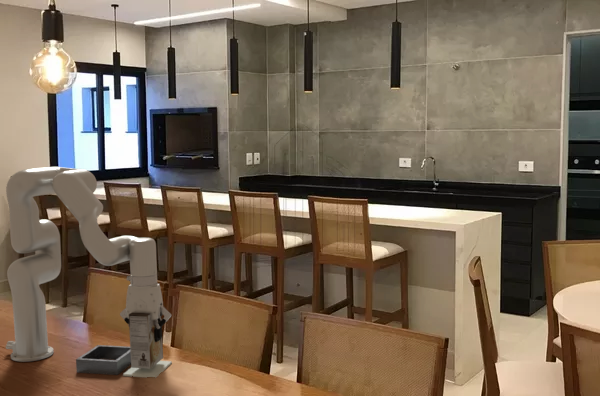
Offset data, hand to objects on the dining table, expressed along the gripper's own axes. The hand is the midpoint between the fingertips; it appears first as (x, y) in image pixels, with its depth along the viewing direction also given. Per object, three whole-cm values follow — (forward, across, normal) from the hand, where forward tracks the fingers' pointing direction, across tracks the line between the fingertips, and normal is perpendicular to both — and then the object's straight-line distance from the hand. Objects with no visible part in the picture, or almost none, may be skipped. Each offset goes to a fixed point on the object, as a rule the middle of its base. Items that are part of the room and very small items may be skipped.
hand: (146, 339), depth 194 cm
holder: (+9, -13, +1) cm, 16 cm away
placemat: (+9, 0, 0) cm, 9 cm away
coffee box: (+7, 0, 0) cm, 7 cm away
